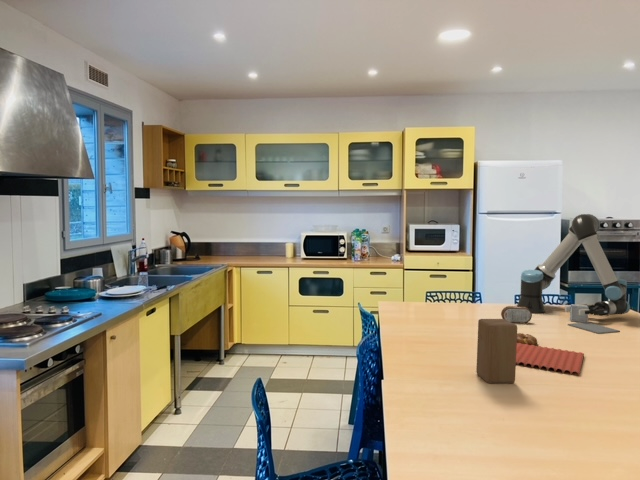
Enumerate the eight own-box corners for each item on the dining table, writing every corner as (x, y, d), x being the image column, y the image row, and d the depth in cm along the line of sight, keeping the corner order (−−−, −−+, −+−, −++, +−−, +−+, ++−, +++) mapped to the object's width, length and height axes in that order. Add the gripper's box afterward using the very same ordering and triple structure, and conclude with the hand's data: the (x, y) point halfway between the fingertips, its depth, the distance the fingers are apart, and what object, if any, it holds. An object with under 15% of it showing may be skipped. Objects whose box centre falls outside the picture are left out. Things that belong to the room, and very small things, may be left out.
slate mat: (567, 325, 245) (567, 323, 245) (588, 323, 249) (588, 322, 249) (598, 333, 228) (598, 332, 228) (619, 331, 233) (619, 330, 232)
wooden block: (475, 373, 169) (477, 318, 167) (502, 373, 170) (504, 318, 168) (487, 384, 159) (489, 325, 157) (516, 383, 160) (518, 325, 158)
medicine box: (586, 321, 255) (586, 305, 254) (587, 323, 250) (588, 306, 250) (569, 319, 257) (570, 303, 257) (571, 321, 253) (571, 305, 252)
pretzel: (531, 349, 202) (532, 340, 201) (506, 344, 209) (506, 335, 209) (541, 343, 210) (541, 335, 210) (516, 338, 218) (516, 330, 218)
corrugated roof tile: (579, 377, 168) (579, 372, 168) (496, 363, 183) (496, 357, 183) (583, 357, 192) (584, 352, 192) (510, 346, 207) (510, 341, 206)
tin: (530, 322, 250) (530, 306, 249) (532, 323, 247) (533, 307, 246) (500, 321, 251) (501, 305, 251) (502, 322, 248) (502, 306, 247)
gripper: (621, 319, 250) (589, 322, 242) (587, 311, 270) (556, 313, 262) (622, 305, 249) (589, 307, 242) (588, 298, 269) (556, 299, 262)
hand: (572, 310), depth 252 cm, fingers closed on medicine box, 8 cm apart
